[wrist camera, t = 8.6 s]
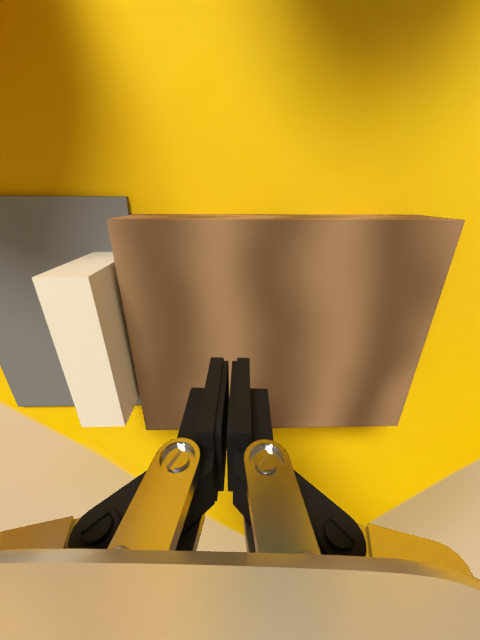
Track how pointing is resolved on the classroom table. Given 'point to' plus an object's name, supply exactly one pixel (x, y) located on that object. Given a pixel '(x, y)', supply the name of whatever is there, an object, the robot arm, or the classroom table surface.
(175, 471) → the robot arm
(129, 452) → the classroom table surface
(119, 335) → the cream foam block
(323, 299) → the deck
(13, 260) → the mat
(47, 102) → the classroom table surface
